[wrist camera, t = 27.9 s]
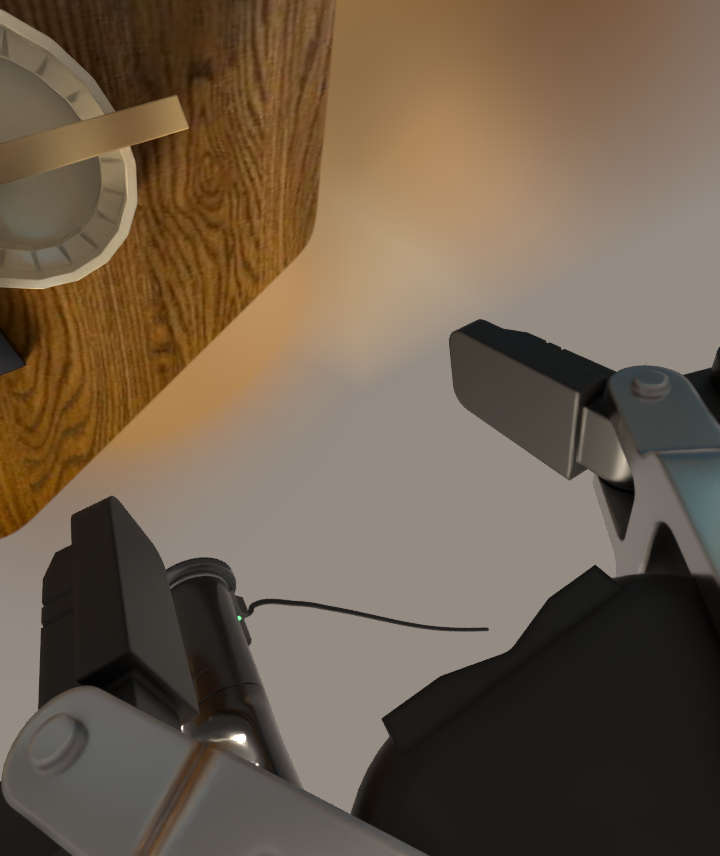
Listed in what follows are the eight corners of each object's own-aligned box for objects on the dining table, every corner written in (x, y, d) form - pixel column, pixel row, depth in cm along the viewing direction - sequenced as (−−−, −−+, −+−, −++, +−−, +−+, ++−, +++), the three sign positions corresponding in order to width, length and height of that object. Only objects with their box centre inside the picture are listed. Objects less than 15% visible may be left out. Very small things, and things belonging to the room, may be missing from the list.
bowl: (169, 158, 40) (182, 162, 36) (56, 309, 41) (55, 331, 37) (-63, -59, 29) (-85, -92, 25) (-207, 156, 30) (-252, 161, 26)
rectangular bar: (171, 95, 33) (177, 94, 32) (184, 128, 35) (189, 128, 33) (-226, 205, 27) (-243, 210, 26) (-194, 240, 28) (-208, 246, 27)
